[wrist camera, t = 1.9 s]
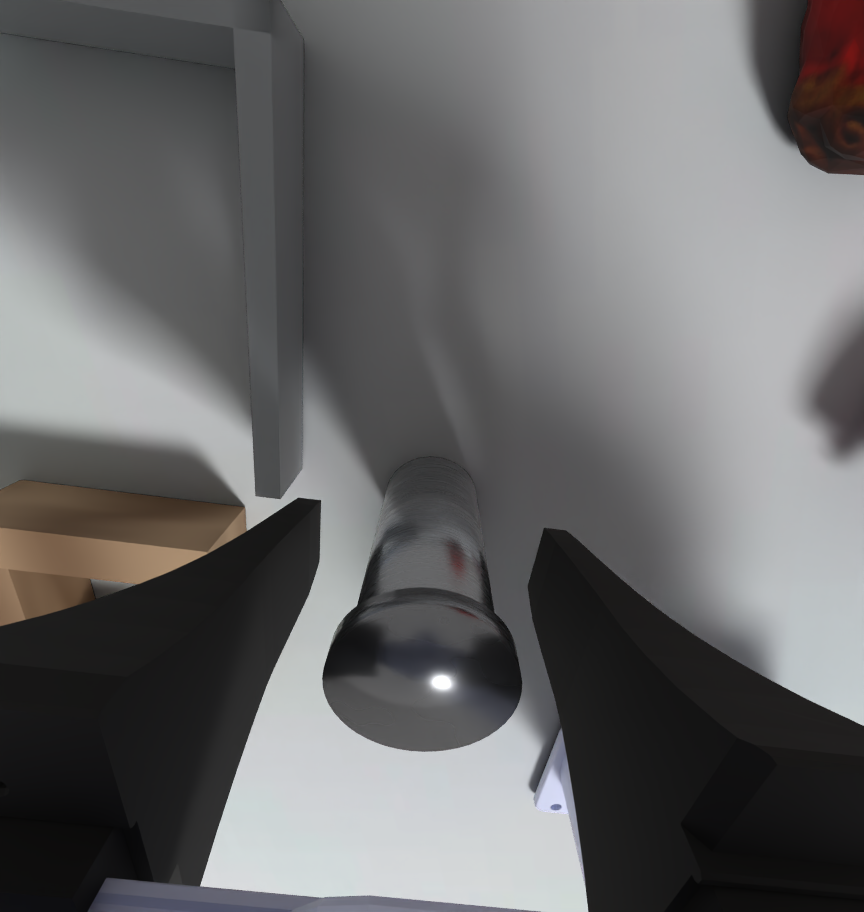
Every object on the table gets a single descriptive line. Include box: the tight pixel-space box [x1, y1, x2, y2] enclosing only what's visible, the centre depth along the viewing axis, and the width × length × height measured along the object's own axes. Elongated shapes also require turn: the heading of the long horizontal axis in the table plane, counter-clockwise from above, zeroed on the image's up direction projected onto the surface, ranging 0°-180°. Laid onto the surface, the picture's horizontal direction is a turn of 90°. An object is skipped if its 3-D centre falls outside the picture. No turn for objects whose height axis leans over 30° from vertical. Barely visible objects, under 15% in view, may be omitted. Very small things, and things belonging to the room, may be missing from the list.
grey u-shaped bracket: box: [0, 0, 304, 499], centre depth 10 cm, size 11×11×2 cm
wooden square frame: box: [0, 480, 246, 626], centre depth 15 cm, size 8×8×2 cm
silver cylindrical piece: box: [322, 457, 522, 752], centre depth 11 cm, size 4×4×7 cm
